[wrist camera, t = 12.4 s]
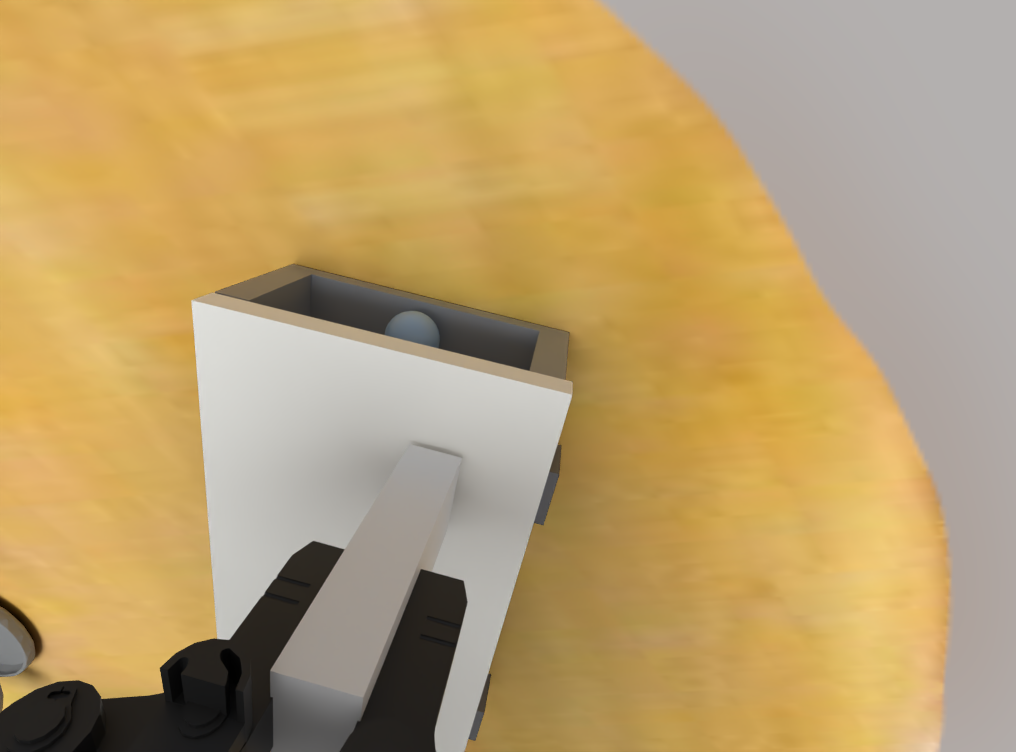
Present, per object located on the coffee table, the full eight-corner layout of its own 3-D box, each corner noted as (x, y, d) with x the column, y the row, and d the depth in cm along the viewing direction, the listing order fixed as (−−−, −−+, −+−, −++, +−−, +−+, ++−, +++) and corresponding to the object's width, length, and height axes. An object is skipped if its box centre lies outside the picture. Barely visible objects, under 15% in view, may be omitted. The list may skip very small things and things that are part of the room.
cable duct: (480, 689, 25) (463, 778, 21) (286, 635, 26) (237, 713, 22) (586, 336, 17) (587, 385, 13) (293, 264, 17) (214, 291, 13)
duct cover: (454, 776, 21) (450, 797, 21) (236, 715, 22) (224, 734, 21) (572, 381, 13) (572, 394, 12) (212, 292, 13) (191, 300, 13)
